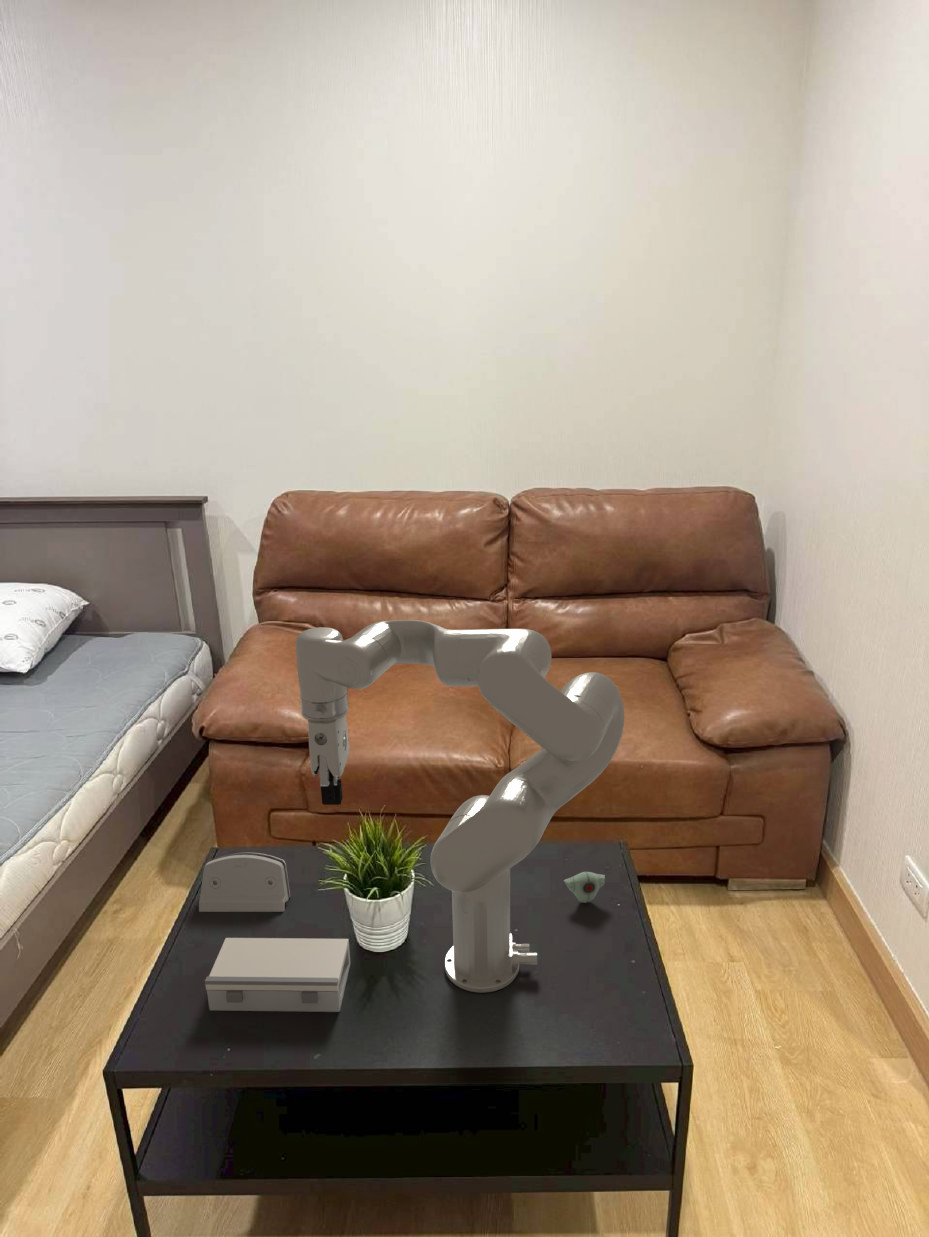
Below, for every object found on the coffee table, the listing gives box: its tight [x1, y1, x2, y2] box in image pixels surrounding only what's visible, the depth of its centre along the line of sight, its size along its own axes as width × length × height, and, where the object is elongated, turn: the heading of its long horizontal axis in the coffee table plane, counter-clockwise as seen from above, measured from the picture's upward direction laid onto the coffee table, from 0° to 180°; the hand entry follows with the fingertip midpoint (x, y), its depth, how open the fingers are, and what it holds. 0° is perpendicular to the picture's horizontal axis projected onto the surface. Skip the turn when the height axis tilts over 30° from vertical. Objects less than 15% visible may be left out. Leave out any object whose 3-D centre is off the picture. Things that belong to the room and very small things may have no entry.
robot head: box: [563, 871, 606, 904], centre depth 166 cm, size 8×4×7 cm, turn 100°
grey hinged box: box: [206, 945, 351, 1013], centre depth 147 cm, size 21×12×4 cm, turn 88°
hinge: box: [198, 852, 291, 913], centre depth 169 cm, size 17×5×10 cm, turn 88°
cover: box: [204, 937, 350, 991], centre depth 146 cm, size 21×11×2 cm, turn 88°
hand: (332, 802), depth 151 cm, fingers closed
